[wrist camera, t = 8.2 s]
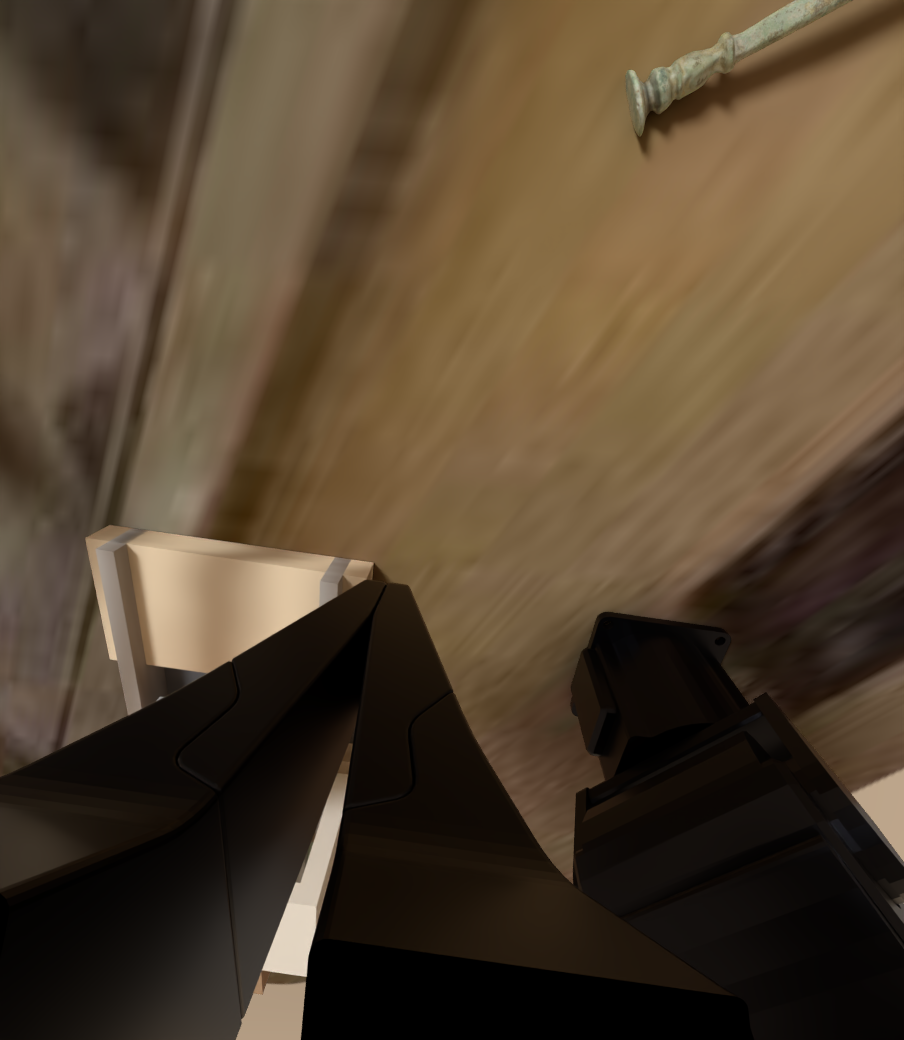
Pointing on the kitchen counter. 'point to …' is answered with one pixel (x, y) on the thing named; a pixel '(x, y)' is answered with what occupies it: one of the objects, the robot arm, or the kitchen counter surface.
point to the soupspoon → (717, 59)
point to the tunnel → (308, 892)
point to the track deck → (201, 604)
